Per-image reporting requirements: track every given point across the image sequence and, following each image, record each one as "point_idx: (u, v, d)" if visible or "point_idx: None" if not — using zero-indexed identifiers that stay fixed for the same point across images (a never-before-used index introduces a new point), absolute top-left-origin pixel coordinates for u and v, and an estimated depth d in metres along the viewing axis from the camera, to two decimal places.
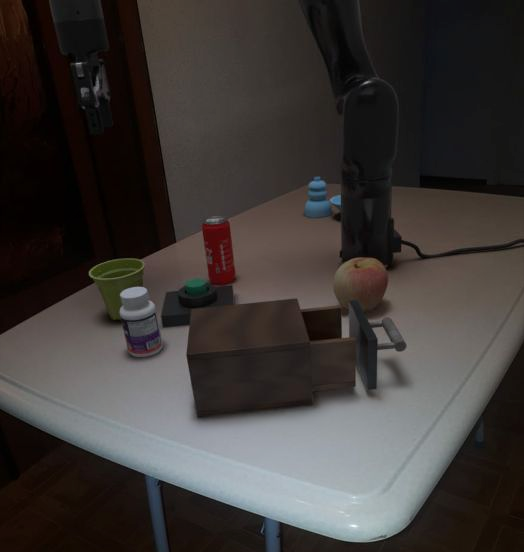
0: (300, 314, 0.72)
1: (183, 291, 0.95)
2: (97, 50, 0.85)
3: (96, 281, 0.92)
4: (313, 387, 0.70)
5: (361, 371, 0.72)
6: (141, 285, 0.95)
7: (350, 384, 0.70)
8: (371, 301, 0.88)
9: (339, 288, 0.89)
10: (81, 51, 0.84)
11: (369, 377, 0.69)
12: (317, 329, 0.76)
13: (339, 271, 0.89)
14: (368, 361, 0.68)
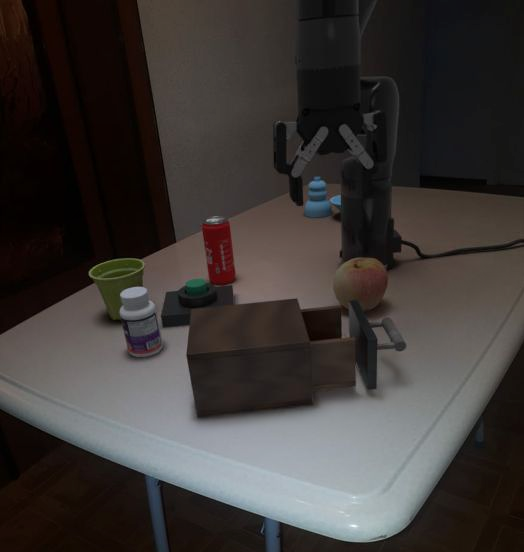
0: (300, 314, 0.72)
1: (183, 291, 0.95)
2: (312, 109, 0.65)
3: (96, 281, 0.92)
4: (313, 387, 0.70)
5: (361, 371, 0.72)
6: (141, 285, 0.95)
7: (350, 384, 0.70)
8: (371, 301, 0.88)
9: (339, 288, 0.89)
10: (299, 107, 0.67)
11: (369, 377, 0.69)
12: (317, 329, 0.76)
13: (339, 271, 0.89)
14: (368, 361, 0.68)
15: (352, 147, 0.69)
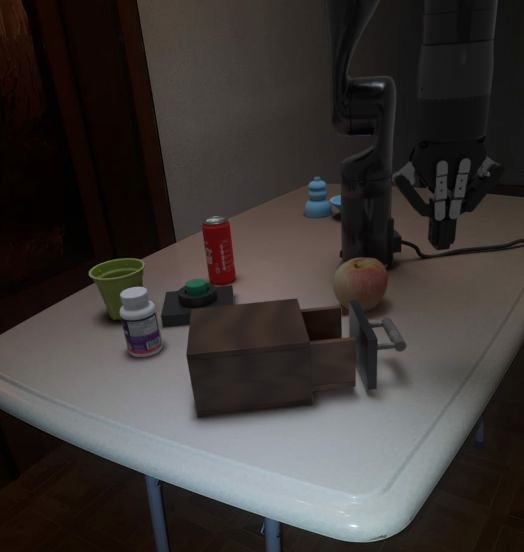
0: (300, 314, 0.72)
1: (183, 291, 0.95)
2: (432, 142, 0.59)
3: (96, 281, 0.92)
4: (313, 387, 0.70)
5: (361, 371, 0.72)
6: (141, 285, 0.95)
7: (350, 384, 0.70)
8: (371, 301, 0.88)
9: (339, 288, 0.89)
10: (416, 139, 0.61)
11: (369, 377, 0.69)
12: (317, 329, 0.76)
13: (339, 271, 0.89)
14: (368, 361, 0.68)
15: (456, 186, 0.62)
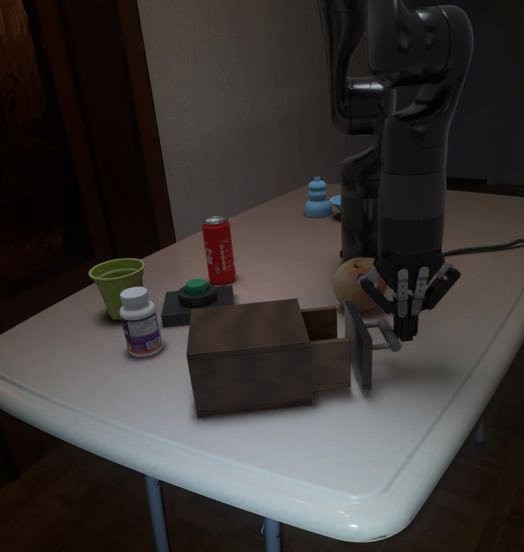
0: (300, 314, 0.72)
1: (183, 291, 0.95)
2: (393, 254, 0.65)
3: (96, 281, 0.92)
4: None
5: (356, 371, 0.72)
6: (141, 285, 0.95)
7: (346, 384, 0.70)
8: (371, 301, 0.88)
9: (339, 288, 0.89)
10: (379, 248, 0.67)
11: (365, 378, 0.69)
12: (313, 329, 0.76)
13: (339, 271, 0.89)
14: (363, 362, 0.68)
15: (417, 289, 0.68)
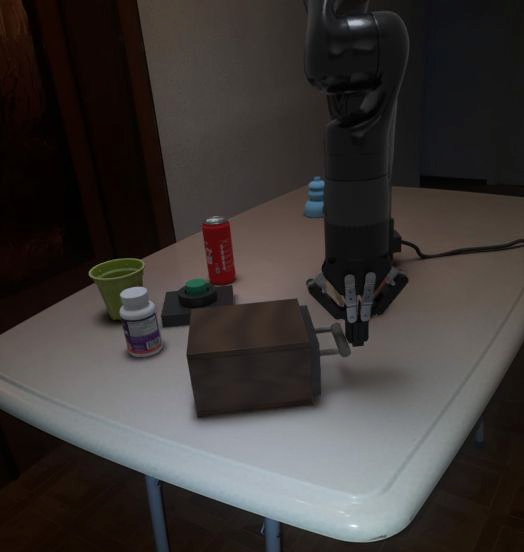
0: (300, 314, 0.72)
1: (183, 291, 0.95)
2: (338, 260, 0.65)
3: (96, 281, 0.92)
4: None
5: None
6: (141, 285, 0.95)
7: None
8: None
9: None
10: (325, 254, 0.67)
11: (314, 383, 0.69)
12: None
13: None
14: (311, 367, 0.68)
15: (365, 295, 0.68)
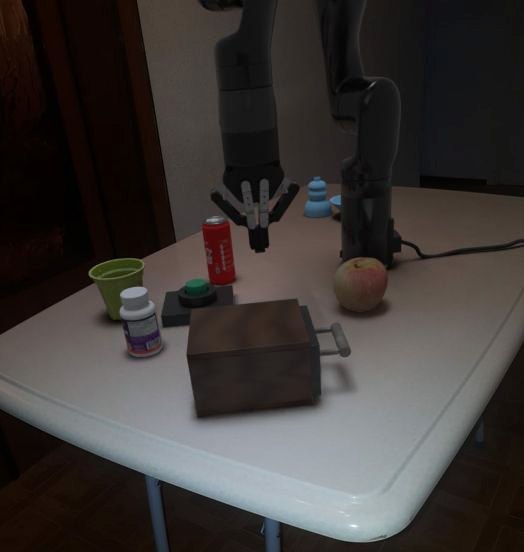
0: (300, 314, 0.72)
1: (183, 291, 0.95)
2: (233, 166, 0.73)
3: (96, 281, 0.92)
4: None
5: None
6: (141, 285, 0.95)
7: None
8: (371, 301, 0.88)
9: (339, 288, 0.89)
10: (224, 163, 0.75)
11: (314, 383, 0.69)
12: None
13: (339, 271, 0.89)
14: (311, 367, 0.68)
15: (261, 201, 0.76)
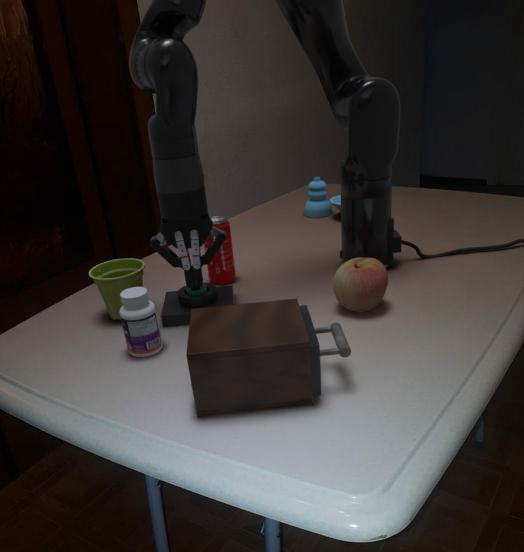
0: (300, 314, 0.72)
1: (183, 291, 0.95)
2: (166, 219, 0.86)
3: (96, 281, 0.92)
4: None
5: None
6: (141, 285, 0.95)
7: None
8: (371, 301, 0.88)
9: (339, 288, 0.89)
10: None
11: (314, 383, 0.69)
12: None
13: (339, 271, 0.89)
14: (311, 367, 0.68)
15: (192, 247, 0.89)
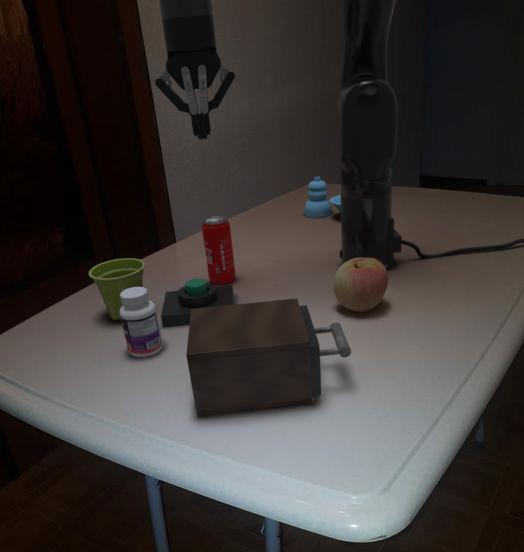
0: (300, 314, 0.72)
1: (183, 291, 0.95)
2: (173, 51, 0.82)
3: (96, 281, 0.92)
4: None
5: None
6: (141, 285, 0.95)
7: None
8: (371, 301, 0.88)
9: (339, 288, 0.89)
10: None
11: (314, 383, 0.69)
12: None
13: (339, 271, 0.89)
14: (311, 367, 0.68)
15: (200, 87, 0.85)
